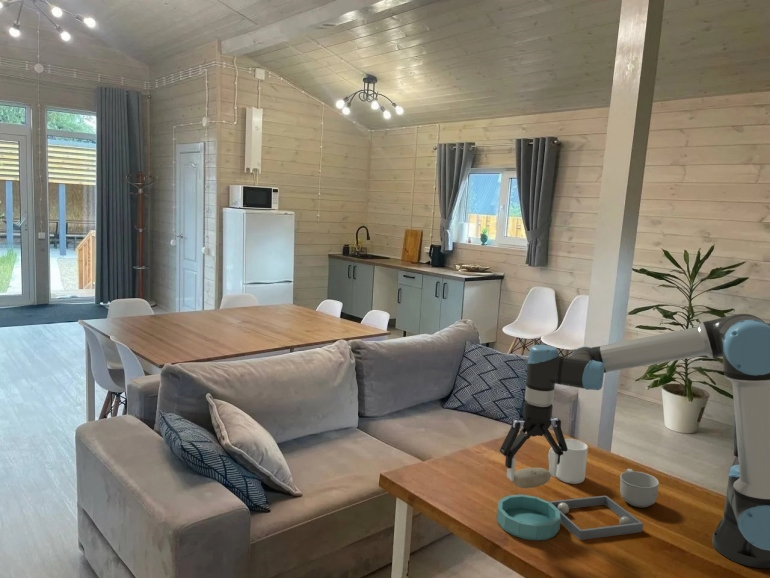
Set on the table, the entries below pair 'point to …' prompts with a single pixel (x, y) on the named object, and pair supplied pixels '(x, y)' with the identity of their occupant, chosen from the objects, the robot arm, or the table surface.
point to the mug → (572, 462)
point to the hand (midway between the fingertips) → (531, 476)
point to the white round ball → (563, 508)
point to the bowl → (528, 517)
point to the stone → (531, 477)
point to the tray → (601, 531)
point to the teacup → (638, 488)
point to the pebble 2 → (624, 520)
